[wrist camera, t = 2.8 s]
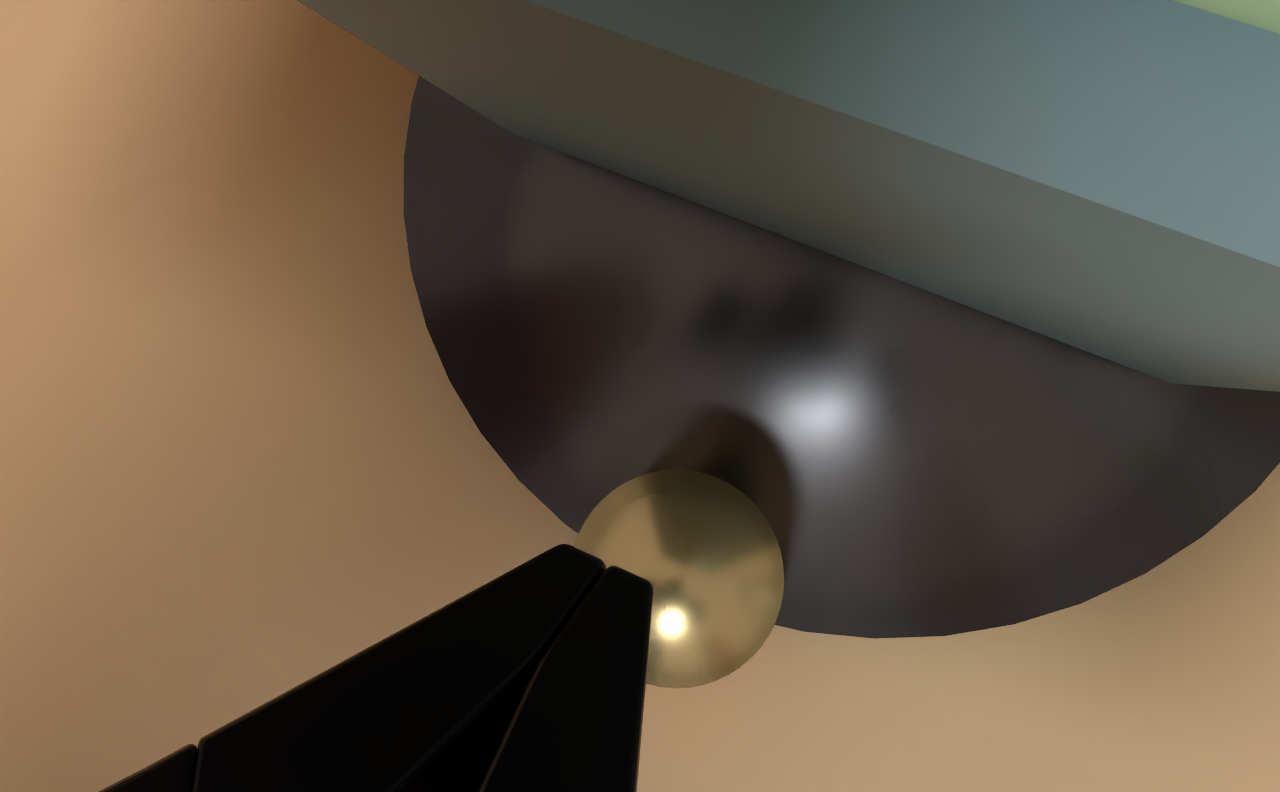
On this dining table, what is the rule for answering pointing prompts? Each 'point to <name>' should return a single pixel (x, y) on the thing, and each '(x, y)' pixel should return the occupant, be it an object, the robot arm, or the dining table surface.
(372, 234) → the dining table surface
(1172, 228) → the grey upright slab
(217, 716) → the dining table surface
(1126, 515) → the base
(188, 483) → the dining table surface
